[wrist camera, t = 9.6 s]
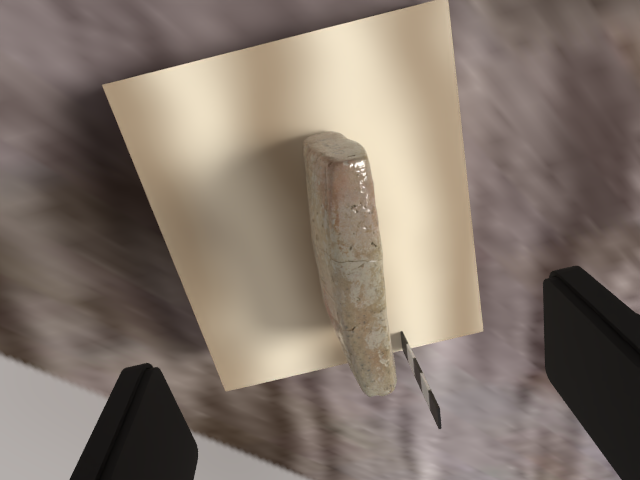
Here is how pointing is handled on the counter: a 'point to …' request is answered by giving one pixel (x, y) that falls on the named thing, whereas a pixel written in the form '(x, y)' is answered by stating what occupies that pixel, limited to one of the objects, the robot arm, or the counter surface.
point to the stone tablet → (353, 262)
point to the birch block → (291, 188)
